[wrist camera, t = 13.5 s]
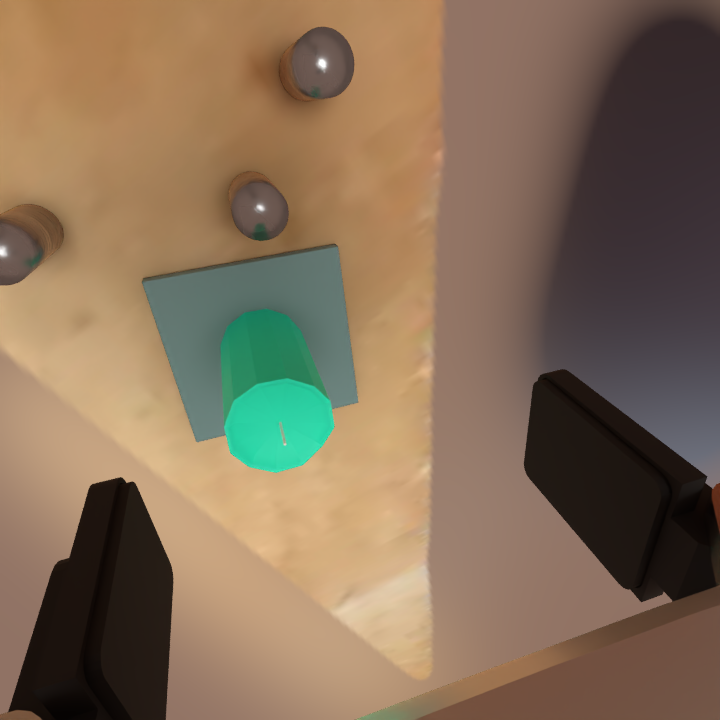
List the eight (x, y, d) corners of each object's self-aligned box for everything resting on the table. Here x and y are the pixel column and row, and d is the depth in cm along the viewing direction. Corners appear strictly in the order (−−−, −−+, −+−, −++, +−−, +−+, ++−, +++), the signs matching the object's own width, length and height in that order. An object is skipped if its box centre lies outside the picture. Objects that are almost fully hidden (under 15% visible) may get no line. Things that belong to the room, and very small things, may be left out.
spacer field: (-263, -84, 21) (-419, -150, 16) (307, -107, 25) (332, -164, 20) (-65, 273, 28) (-126, 308, 23) (344, 205, 33) (369, 222, 28)
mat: (143, 278, 32) (141, 282, 31) (335, 243, 34) (338, 246, 33) (196, 436, 38) (196, 442, 37) (355, 397, 40) (358, 402, 40)
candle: (243, 395, 36) (256, 507, 26) (204, 330, 33) (202, 427, 23) (316, 362, 37) (357, 459, 27) (284, 295, 34) (316, 374, 24)
